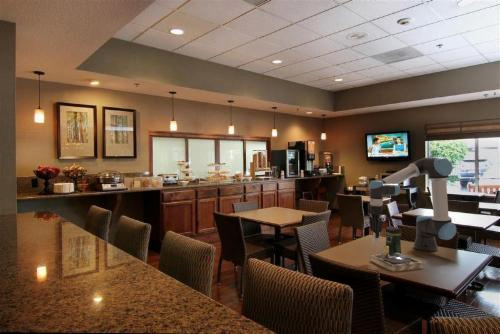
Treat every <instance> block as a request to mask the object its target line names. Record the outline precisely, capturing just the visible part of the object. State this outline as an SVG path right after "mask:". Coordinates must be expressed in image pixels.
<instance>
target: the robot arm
mask: <svg viewBox="0 0 500 334" xmlns="http://www.w3.org/2000/svg"><path fill="white" fill-rule="evenodd" d="M453 168H454V167H453V164H452V162H451V161H450V160H449V159H448V158H446V157H423V158H421V159H418V160H416V161H414V162H412V163H409V164H408V166H407V167H405V168H402V169H401V170H398V171H396V172H394V173H392V174H391V175H388V176H386V177H384V178H382V179H380V180H371V181H370V182H369V184H368V186H367V187H368V188H367V189H368V191H369V212H370V214H368V215H367V217H368V221H369V227H370V231H372V243H373V244H378V243H379V234H380V233H382V229H383V224H384V221H385V217H382V212H383V211H384V210H383V209H384V207H383V204H384V200H383V199H384V197H383V196H393V197H394V196H398V195H400V193H401V187H400V184H401V183H403V182H405V181H407V180H409V179H411V178H413V177H415V178H416V177H419V176H423V175H427V176H428V179H429V180H430V181H431V196H432V197H431V200H432V208H433V209H432V212H433V215H422V216H421V215H420V216H417V217H416V221H415V224H416V227H415V230H416V231H415V232H416V234H415V236H416V237H415V240H414V243H413V248H414V249H416V250H419V251H423V252H437V251H438V250H439V249H438V248H439V246H438V244H437V239H436V238H438V239H441V240H446V241H449V240H451V239H453V237H454V236H456V233H457V226H456V225H455V224H454V223H453V222H452V217H450V216H449V204H448V189H447V180H448V179H449V176H450V175H451V174H452V172H453Z"/></svg>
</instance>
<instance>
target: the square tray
mask: <svg viewBox="0 0 500 334" xmlns="http://www.w3.org/2000/svg"><path fill="white" fill-rule="evenodd" d="M382 254H383V253H382ZM382 254H381V253H379V254H371V256H370V258H371V259H370V261H371V262H373V263H375V264H377V265H379V266H381V267H383V268H385V269H387V270H389V271H391V272H401V271H402V270H403V271H410V269H411V270H420V269H423V261H420V260H418V259H415V258H413V257H410V258H411V263H405V264H391V263H389V262H386V261H384V260H383V259H382ZM396 254H400V253H396ZM401 254H402V253H401ZM402 255H404V254H402Z"/></svg>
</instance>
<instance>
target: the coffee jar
mask: <svg viewBox="0 0 500 334" xmlns="http://www.w3.org/2000/svg"><path fill="white" fill-rule="evenodd" d="M401 237H402V229H401V228H399V227H396V226H386V227H385V246H389V253H400V254H402V245H401Z"/></svg>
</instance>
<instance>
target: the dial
mask: <svg viewBox="0 0 500 334" xmlns="http://www.w3.org/2000/svg"><path fill="white" fill-rule="evenodd" d="M411 258H412V257H410V256H409V255H405V254H403V255H402V253H401V254H396V253H389V246H386V245H384V253H382V259H383V260H384V261H386V262H389V263H391V264H405V263H411Z"/></svg>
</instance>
